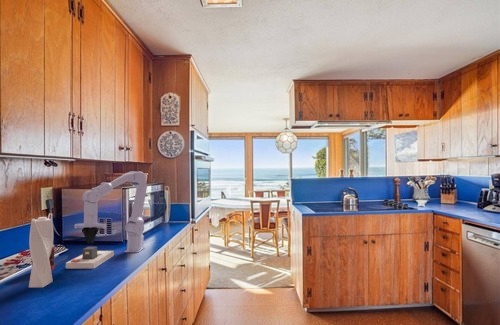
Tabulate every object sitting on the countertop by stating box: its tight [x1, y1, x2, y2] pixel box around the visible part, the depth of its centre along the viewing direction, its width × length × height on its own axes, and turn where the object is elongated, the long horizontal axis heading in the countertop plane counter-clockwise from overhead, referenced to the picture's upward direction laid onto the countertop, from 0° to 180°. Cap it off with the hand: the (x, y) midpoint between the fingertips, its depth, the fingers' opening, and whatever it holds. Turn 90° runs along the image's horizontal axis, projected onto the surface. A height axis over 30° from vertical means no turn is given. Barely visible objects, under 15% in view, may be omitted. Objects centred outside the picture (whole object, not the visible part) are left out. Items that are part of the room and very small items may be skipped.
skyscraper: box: [28, 212, 54, 288], centre depth 107 cm, size 8×8×28 cm
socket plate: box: [65, 250, 115, 270], centre depth 132 cm, size 18×13×3 cm
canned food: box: [31, 243, 55, 272], centre depth 120 cm, size 8×8×11 cm
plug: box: [82, 246, 98, 259], centre depth 132 cm, size 7×4×6 cm
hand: (90, 242), depth 132 cm, fingers closed
